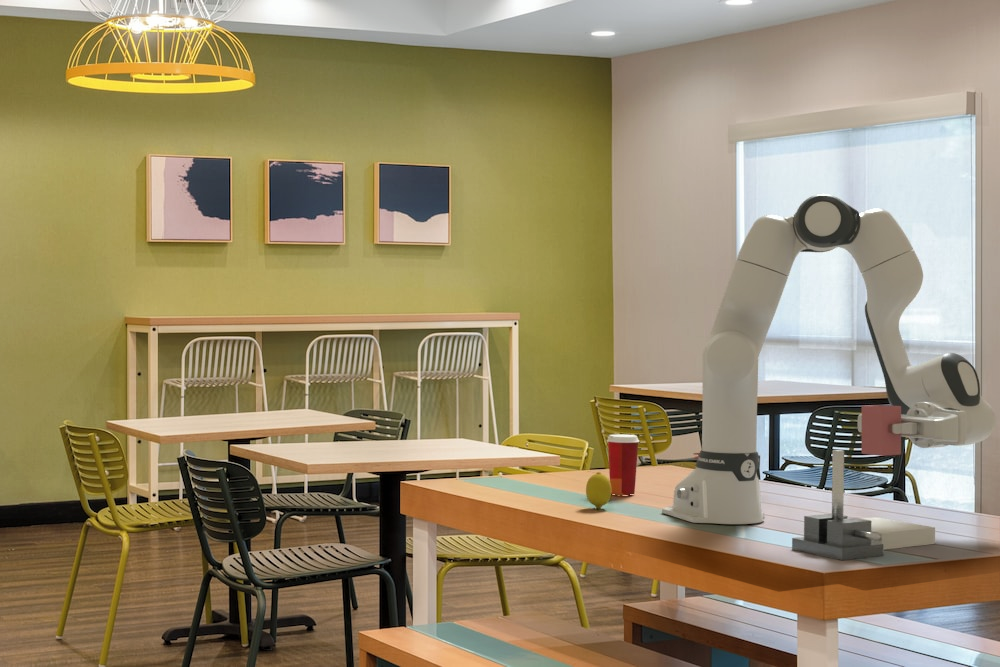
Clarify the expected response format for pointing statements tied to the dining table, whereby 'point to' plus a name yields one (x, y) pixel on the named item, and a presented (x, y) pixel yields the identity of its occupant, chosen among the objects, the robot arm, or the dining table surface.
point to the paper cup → (622, 463)
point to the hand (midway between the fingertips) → (877, 427)
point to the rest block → (901, 533)
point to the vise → (838, 526)
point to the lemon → (598, 490)
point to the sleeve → (880, 430)
